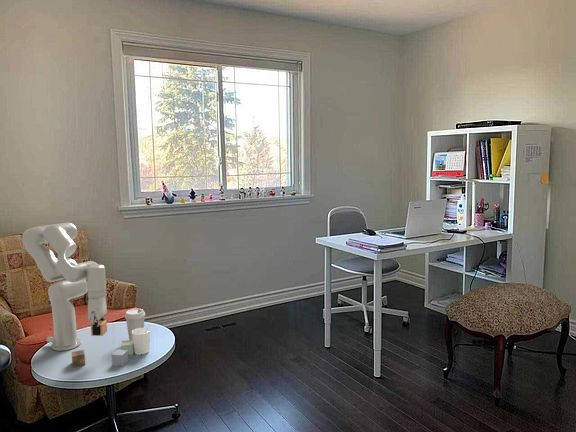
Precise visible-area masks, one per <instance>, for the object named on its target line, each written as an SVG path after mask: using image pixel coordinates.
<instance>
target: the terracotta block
mask: <svg viewBox="0 0 576 432" xmlns="http://www.w3.org/2000/svg"><path fill="white" fill-rule="evenodd" d="M95 322H96V323H97V321H95ZM99 326H100V333H101V334H100V335H93V330H92V324H90V335H91V336H92V337H93V336H94V337H97V336H98V337H103V336H104V335H106V333H107V332H108V323H107V320H105V321H99Z"/></svg>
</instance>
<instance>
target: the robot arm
mask: <svg viewBox="0 0 576 432" xmlns="http://www.w3.org/2000/svg"><path fill="white" fill-rule="evenodd" d="M77 237H78V229H77V227H76V226H75V225H74V224H73V223H71V222H63V223H53V224H46V225H39V226H33V227H30V228H28V229H26V230H24V232H23V233H22V243H23V246H24V248H25V250H26V251H27V253H28V254H29V255H30V257H31V258H32V259H33V260H34V262H35V264H36V265H37V268H38V269H39V271H40V273H41V275H42V277H43V279H44V280H45V281H46V282H49V283H51V285H50V286H49V287H48V288H47V289H48V291H47V294H48V298H49V301H50V305H51V311H52V312H51V313H52V314H51V315H52V325H53V336H47V337H46V343H47V344H48V343H52V344H51V349H52V351H53V350H54V351H55V352H56V351H57V352H58V351H59V352H61V351H62V352H63V351H69V350H73V349H75V348H78V347H79V346H80V345H81V344H82V341H81V339H80V338H78V334H77V333H78V331H77V320H76V310H75V306H74V305H73V304H72V303H71V302H70V300H72V299H75V298H79V297H82V296H84V295H85V294H87V298H88V300H87V301H88V302H87V320H88V321H90V322H89V323H90V325H91V324H92V330H93V335H100V334H101V333H100V326H99V321H106V314H107V311H108V310H107V309H108V307H107V298H106V297H107V278H106V277H107V276H106V267H105V265H103V264H98V263H97V262H96V261H92V260H89V261H85V262H80V263H77V261H76V260H75V259H72V258H69V257H71V256H72V255H73V254H75V252H76V251H77V249H78V248H77V244H76V242H74V240H75V239H76V238H77ZM43 244H49V245H50V247H51V248H52V249H53V250H54V251H55V253H56V254H57V256H56V255H55V253H54V252H53V251H52V250H51V249H50V248H49V247H47V246H45V245H43ZM53 282H54V283H53ZM95 321H97V323H96V322H95Z"/></svg>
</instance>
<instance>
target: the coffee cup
mask: <svg viewBox="0 0 576 432" xmlns="http://www.w3.org/2000/svg"><path fill="white" fill-rule="evenodd" d="M145 316H146V312H145V311H144V309H142V308H132V309H129V310H126V312H125V315H124V318H125V320H126V321H125V322H126V327H127V334H128V339H129V340H132V331H133V330H135V329H138V328H145Z"/></svg>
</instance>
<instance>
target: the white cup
mask: <svg viewBox="0 0 576 432" xmlns="http://www.w3.org/2000/svg"><path fill="white" fill-rule="evenodd" d="M150 333H151V331H150V328H148V327H144V328H138V329H135V330H133V331H132V341H133V348H134V353H133V354H135V355H138V356H139V355H141V354H142V355H146V354H147V353H149V352H150V345H151V343H150V340H151V339H150V337H151V336H150V335H151V334H150ZM142 355H141V356H142Z"/></svg>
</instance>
